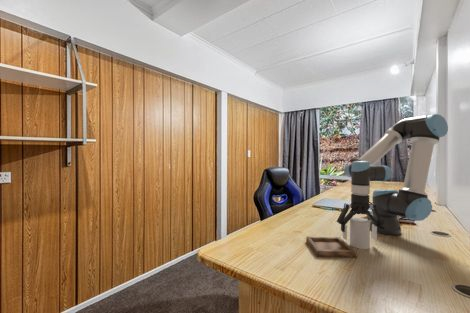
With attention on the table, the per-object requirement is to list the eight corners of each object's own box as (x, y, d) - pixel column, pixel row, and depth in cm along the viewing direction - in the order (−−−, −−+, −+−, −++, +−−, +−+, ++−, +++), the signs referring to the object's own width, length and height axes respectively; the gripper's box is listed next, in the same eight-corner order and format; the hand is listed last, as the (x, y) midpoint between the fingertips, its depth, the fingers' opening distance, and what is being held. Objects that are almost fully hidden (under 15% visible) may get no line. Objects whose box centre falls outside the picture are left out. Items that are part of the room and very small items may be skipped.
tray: (339, 242, 108) (339, 237, 108) (356, 257, 92) (356, 251, 92) (306, 241, 108) (306, 236, 108) (317, 256, 92) (317, 250, 92)
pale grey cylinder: (372, 249, 100) (372, 223, 100) (353, 248, 101) (353, 222, 101) (365, 242, 108) (366, 218, 107) (347, 241, 109) (347, 217, 109)
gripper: (382, 193, 107) (381, 236, 108) (330, 192, 108) (329, 235, 109) (392, 195, 100) (391, 242, 100) (336, 194, 101) (335, 241, 101)
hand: (359, 239), depth 104 cm, fingers open, 13 cm apart
